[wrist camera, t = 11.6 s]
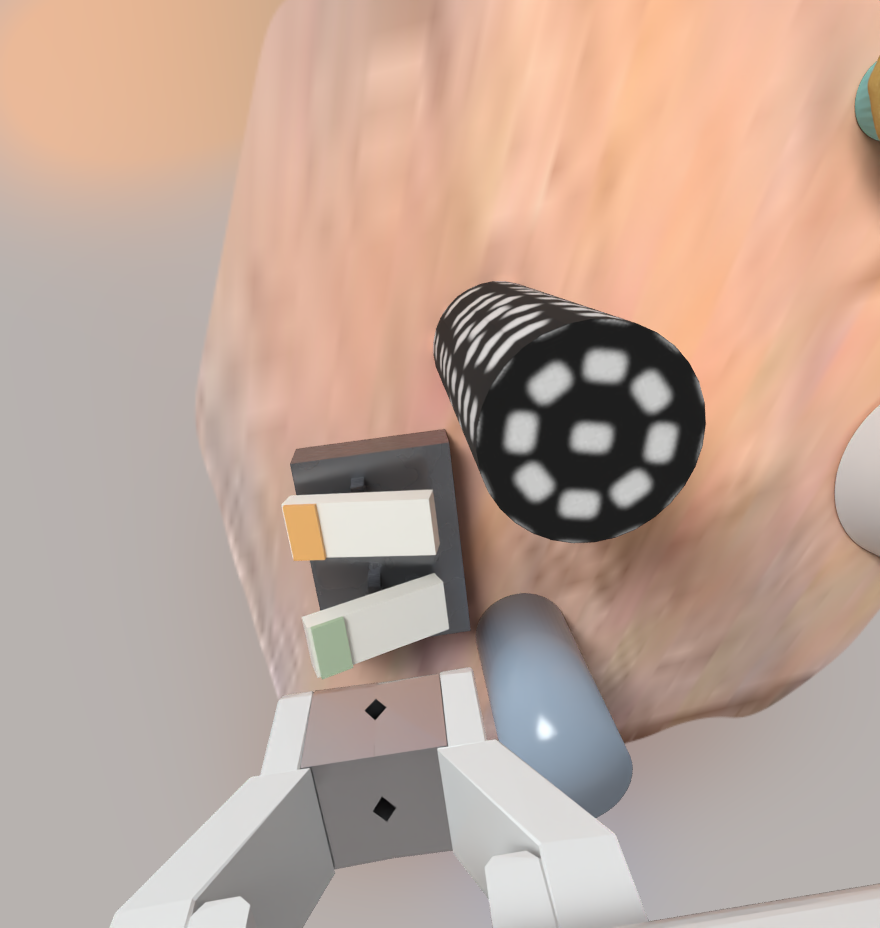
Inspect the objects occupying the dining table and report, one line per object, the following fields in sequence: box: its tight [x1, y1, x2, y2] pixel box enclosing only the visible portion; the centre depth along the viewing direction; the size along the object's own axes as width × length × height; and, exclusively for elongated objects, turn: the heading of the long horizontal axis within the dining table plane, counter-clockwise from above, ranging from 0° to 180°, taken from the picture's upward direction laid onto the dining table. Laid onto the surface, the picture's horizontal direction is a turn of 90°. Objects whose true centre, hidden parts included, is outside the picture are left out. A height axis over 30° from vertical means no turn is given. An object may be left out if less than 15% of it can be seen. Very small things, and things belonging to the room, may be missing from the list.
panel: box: [290, 429, 471, 637], centre depth 43 cm, size 10×14×5 cm
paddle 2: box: [302, 573, 449, 679], centre depth 41 cm, size 9×4×2 cm, turn 96°
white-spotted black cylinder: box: [434, 281, 706, 543], centre depth 32 cm, size 8×8×20 cm
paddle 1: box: [281, 489, 440, 561], centre depth 38 cm, size 9×4×2 cm, turn 97°
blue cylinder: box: [476, 593, 633, 818], centre depth 42 cm, size 7×7×14 cm
